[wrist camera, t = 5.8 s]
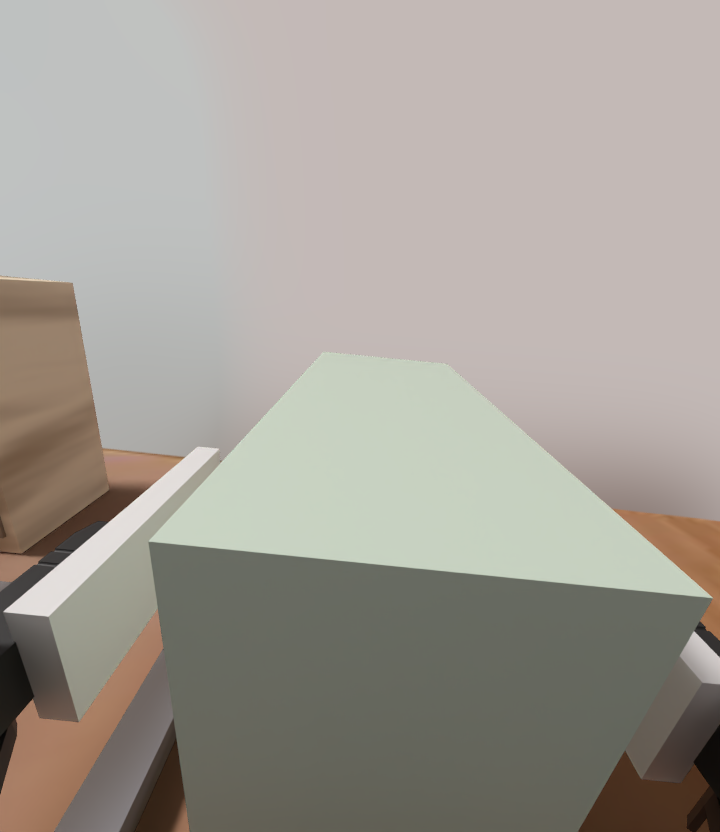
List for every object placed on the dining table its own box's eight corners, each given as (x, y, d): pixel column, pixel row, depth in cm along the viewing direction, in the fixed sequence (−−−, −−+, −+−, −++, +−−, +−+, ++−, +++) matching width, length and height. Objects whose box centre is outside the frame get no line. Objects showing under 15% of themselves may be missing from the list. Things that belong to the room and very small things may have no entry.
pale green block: (398, 633, 15) (446, 363, 11) (433, 1081, 6) (714, 599, 2) (308, 624, 15) (323, 351, 11) (222, 1059, 6) (148, 541, 2)
